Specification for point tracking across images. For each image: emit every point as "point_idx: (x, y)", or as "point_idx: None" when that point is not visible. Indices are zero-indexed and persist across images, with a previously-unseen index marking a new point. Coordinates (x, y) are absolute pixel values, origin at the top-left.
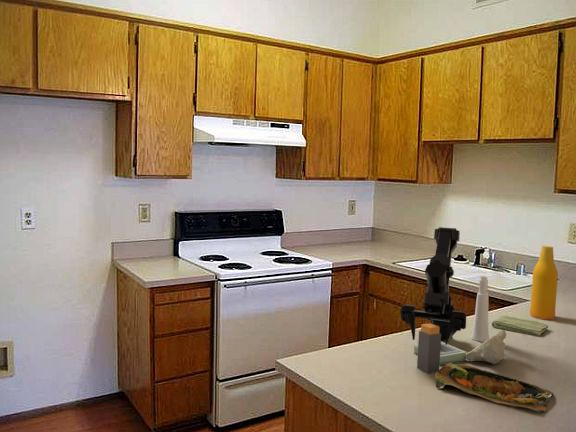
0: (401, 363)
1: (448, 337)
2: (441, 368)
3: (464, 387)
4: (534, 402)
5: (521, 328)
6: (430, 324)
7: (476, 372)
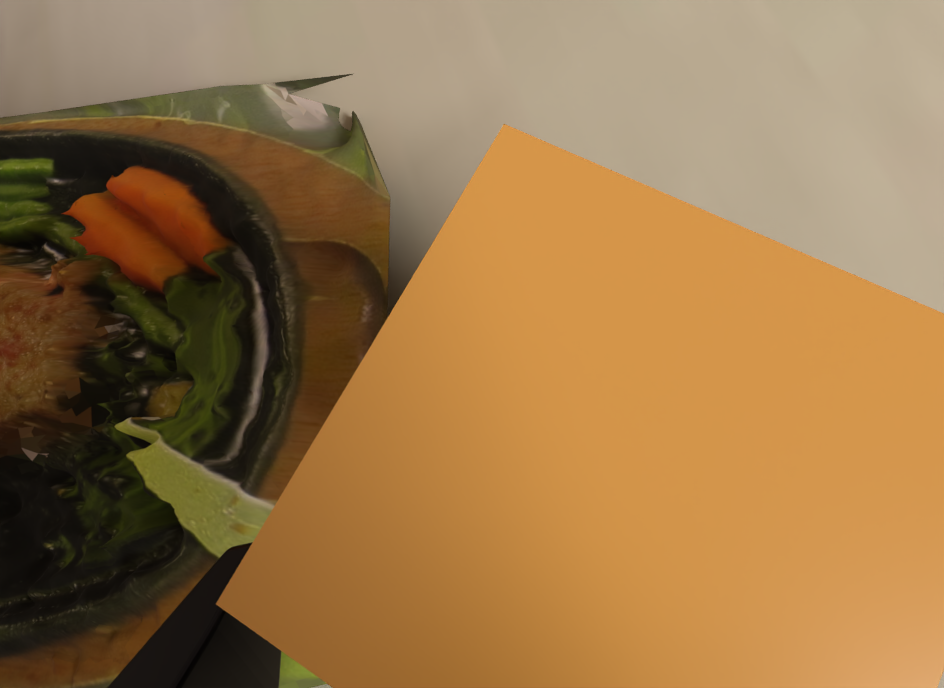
0: None
1: (146, 651)
2: None
3: (129, 135)
4: None
5: None
6: None
7: (75, 594)
